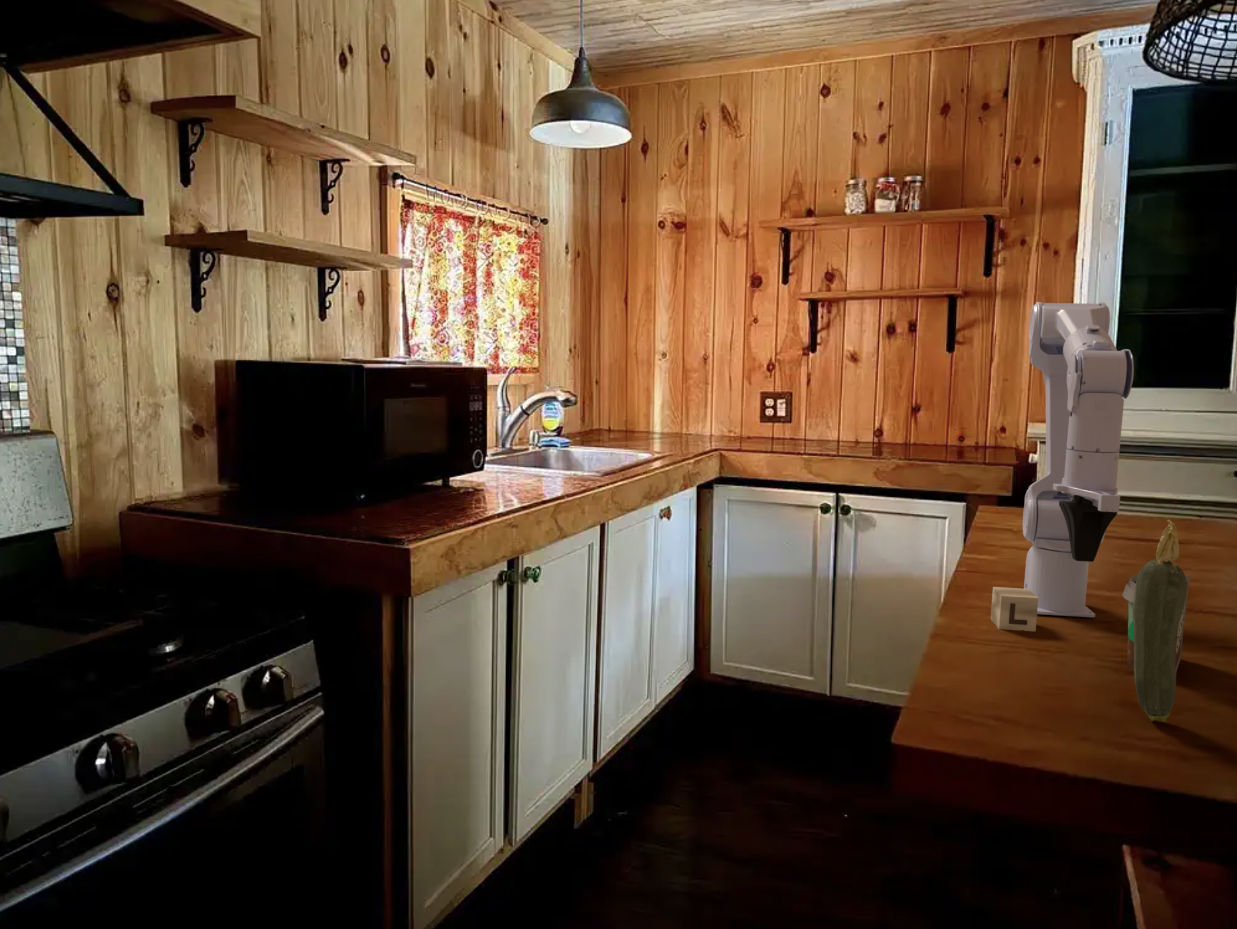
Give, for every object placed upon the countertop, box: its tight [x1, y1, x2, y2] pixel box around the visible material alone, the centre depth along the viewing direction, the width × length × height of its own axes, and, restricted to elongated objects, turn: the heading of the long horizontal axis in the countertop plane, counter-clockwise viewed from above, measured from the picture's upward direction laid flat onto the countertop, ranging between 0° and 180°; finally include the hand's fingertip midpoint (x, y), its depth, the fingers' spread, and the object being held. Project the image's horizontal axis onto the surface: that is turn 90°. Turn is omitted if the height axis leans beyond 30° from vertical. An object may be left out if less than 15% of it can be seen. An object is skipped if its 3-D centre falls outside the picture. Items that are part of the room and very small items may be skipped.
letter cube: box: [990, 586, 1038, 632], centre depth 123 cm, size 5×4×4 cm
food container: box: [1122, 573, 1191, 672], centre depth 108 cm, size 12×6×10 cm, turn 145°
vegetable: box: [1133, 519, 1187, 723], centre depth 91 cm, size 4×4×20 cm
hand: (1083, 560), depth 115 cm, fingers closed
